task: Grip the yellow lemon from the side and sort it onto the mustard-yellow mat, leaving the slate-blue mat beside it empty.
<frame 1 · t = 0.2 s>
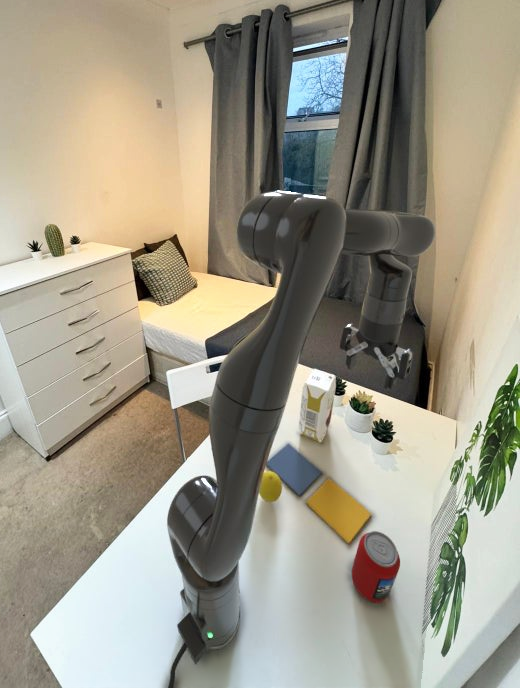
hand: (368, 377, 72), 29 cm above the table, tool pointing down, fingers open, 8 cm apart
beverage can: (369, 582, 63), on the table
slate mat: (293, 468, 84), on the table
lemon: (269, 497, 78), on the table
mustard mat: (337, 509, 75), on the table
juice carton: (313, 430, 95), on the table
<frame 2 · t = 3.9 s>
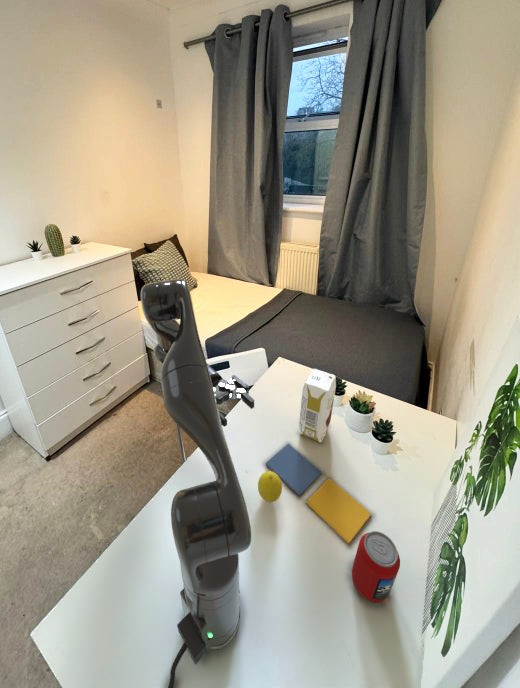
hand: (240, 414, 78), 18 cm above the table, tool horizontal, fingers open, 8 cm apart
nothing on the table moved.
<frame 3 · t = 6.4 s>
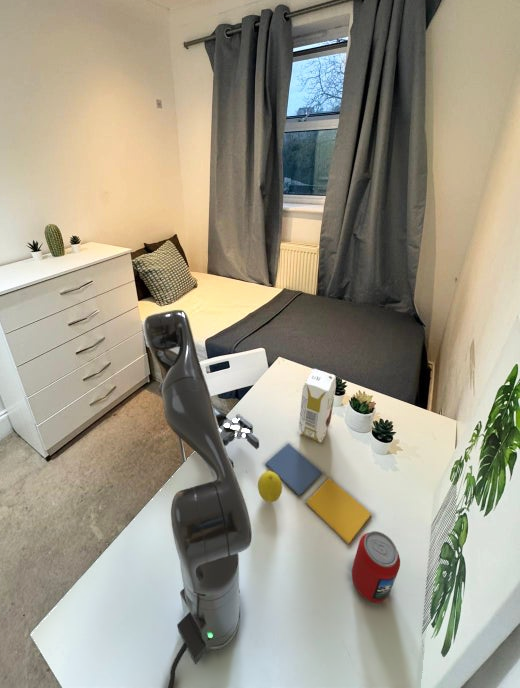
hand: (245, 455, 81), 6 cm above the table, tool horizontal, fingers open, 8 cm apart
nothing on the table moved.
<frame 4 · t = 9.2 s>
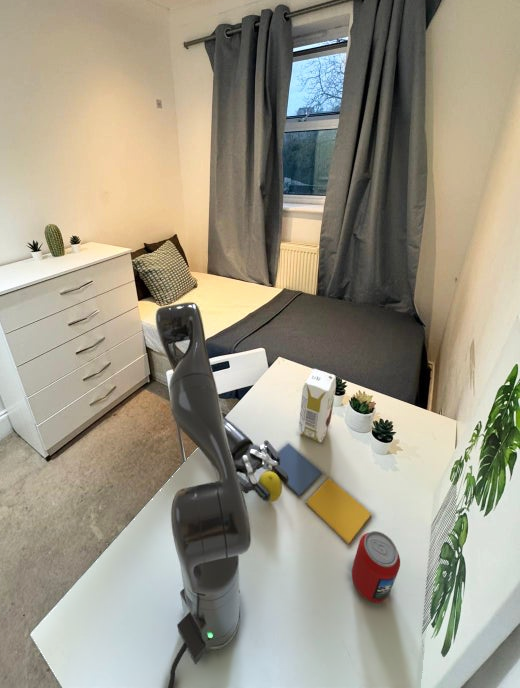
hand: (278, 489, 74), 6 cm above the table, tool horizontal, fingers closed on lemon, 5 cm apart
lemon: (269, 497, 78), on the table, touching gripper
everything else where it was.
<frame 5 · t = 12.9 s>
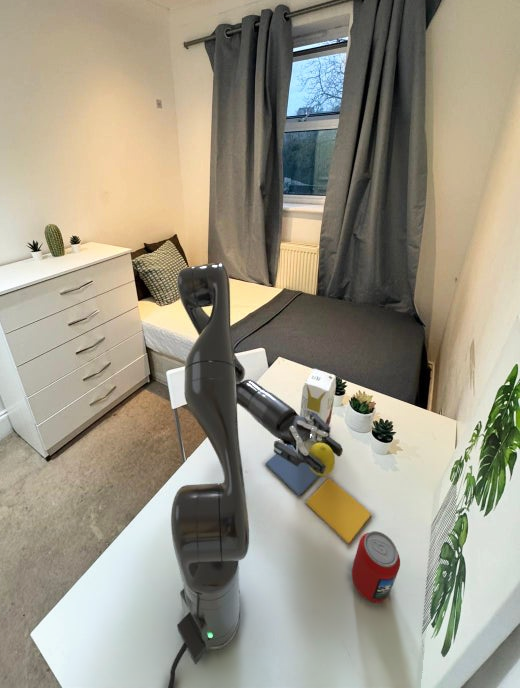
hand: (332, 461, 67), 18 cm above the table, tool horizontal, fingers closed on lemon, 5 cm apart
lemon: (319, 472, 71), point 11 cm above the table, touching gripper
everything else where it was.
when the fingers open (7 cm above the table, at t = 17.1 s): lemon stays where it is, resting on mustard mat.
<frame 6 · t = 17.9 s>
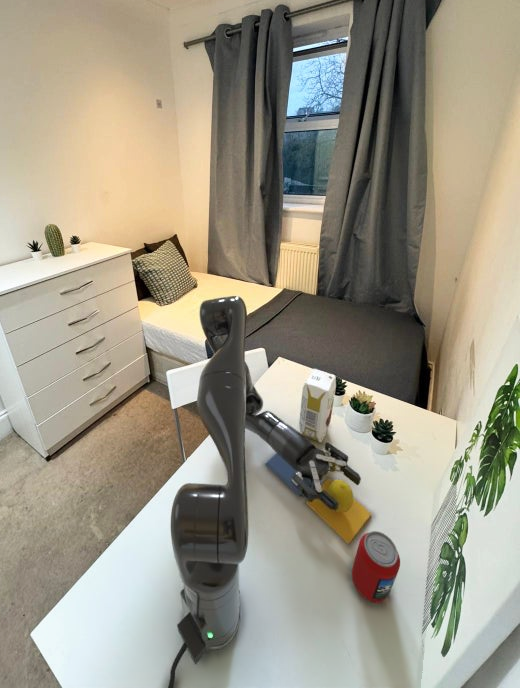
hand: (348, 494, 71), 8 cm above the table, tool horizontal, fingers open, 8 cm apart
lemon: (337, 507, 75), resting on mustard mat
everything else where it was.
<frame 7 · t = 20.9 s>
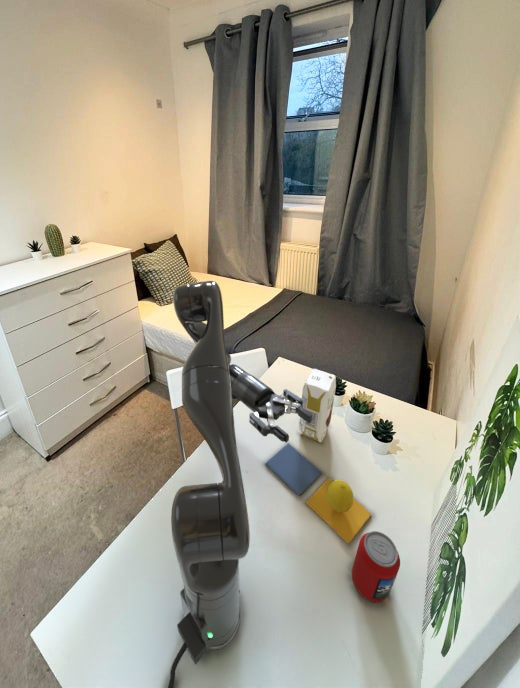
hand: (299, 429, 77), 15 cm above the table, tool horizontal, fingers open, 8 cm apart
nothing on the table moved.
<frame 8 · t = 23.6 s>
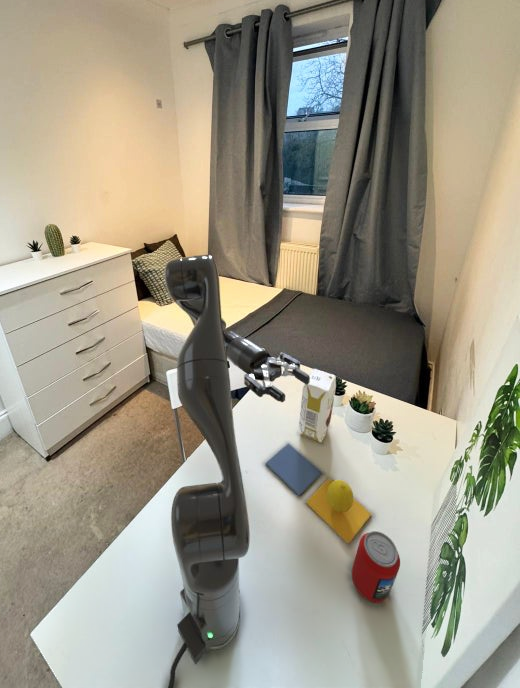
hand: (296, 389, 74), 26 cm above the table, tool horizontal, fingers open, 8 cm apart
nothing on the table moved.
at the end: lemon inside the target area on the mustard mat (0.2 cm from its centre), point 0.4 cm above the mustard mat's base; the gripper is holding nothing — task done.
